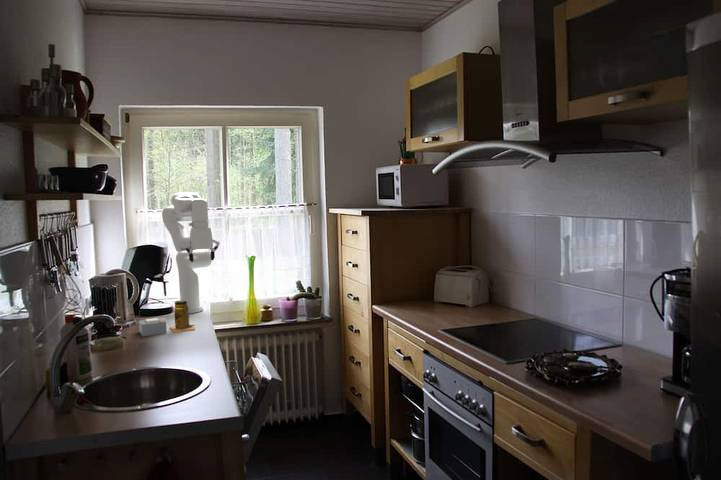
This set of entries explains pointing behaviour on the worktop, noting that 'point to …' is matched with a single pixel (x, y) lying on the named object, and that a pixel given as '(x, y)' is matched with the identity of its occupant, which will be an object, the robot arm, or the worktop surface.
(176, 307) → the condiment
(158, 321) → the button
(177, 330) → the lockout pad
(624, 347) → the worktop surface
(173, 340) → the worktop surface
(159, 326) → the box
